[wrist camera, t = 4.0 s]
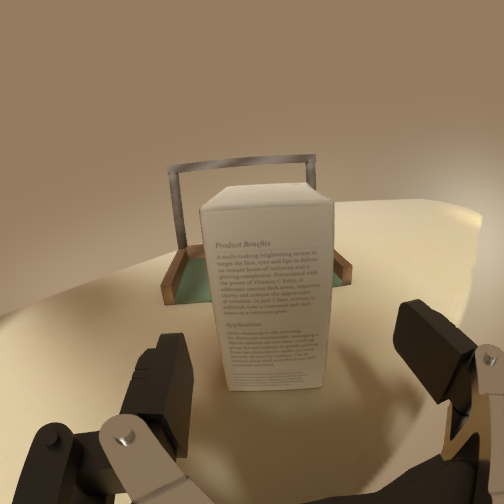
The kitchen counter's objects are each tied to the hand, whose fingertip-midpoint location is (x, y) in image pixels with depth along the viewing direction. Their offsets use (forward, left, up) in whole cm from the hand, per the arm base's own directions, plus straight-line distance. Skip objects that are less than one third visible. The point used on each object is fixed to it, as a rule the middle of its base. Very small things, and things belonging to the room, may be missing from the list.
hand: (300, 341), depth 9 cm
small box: (0, +7, -6) cm, 9 cm away
